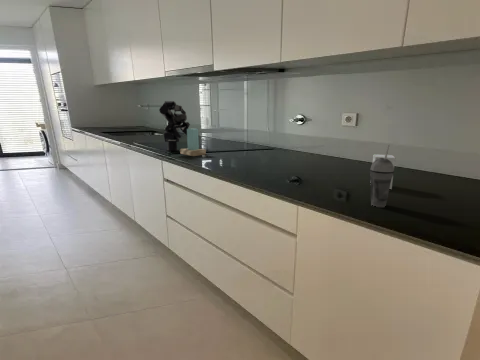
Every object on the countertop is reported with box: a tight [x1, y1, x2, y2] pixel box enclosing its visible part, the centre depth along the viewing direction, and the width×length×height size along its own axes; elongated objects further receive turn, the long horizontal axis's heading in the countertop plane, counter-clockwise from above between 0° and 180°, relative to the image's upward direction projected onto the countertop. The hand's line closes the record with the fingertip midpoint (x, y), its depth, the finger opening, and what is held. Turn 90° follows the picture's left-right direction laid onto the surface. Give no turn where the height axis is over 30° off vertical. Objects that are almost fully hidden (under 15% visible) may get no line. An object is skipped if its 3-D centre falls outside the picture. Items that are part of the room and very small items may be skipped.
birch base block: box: [179, 147, 207, 157], centre depth 212 cm, size 14×10×3 cm
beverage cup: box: [369, 144, 395, 208], centre depth 106 cm, size 7×7×20 cm
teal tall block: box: [186, 127, 200, 150], centre depth 209 cm, size 5×5×13 cm
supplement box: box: [372, 153, 396, 190], centre depth 130 cm, size 7×7×13 cm
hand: (185, 136), depth 212 cm, fingers open, 9 cm apart
